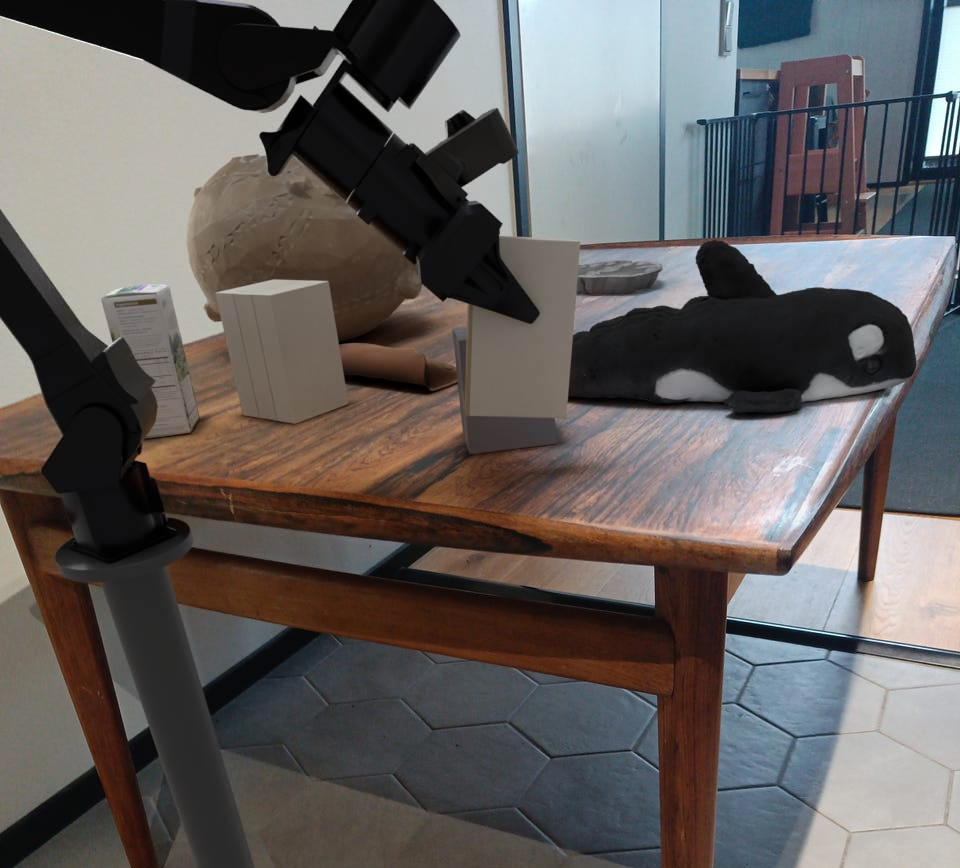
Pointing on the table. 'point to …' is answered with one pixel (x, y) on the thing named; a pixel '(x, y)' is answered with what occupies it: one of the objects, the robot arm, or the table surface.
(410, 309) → the table surface
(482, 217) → the robot arm
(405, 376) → the sunglasses case
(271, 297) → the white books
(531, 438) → the grey box
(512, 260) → the book
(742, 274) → the orca plush
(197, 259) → the ceramic pot
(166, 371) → the syrup box
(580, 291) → the grey stone slab
